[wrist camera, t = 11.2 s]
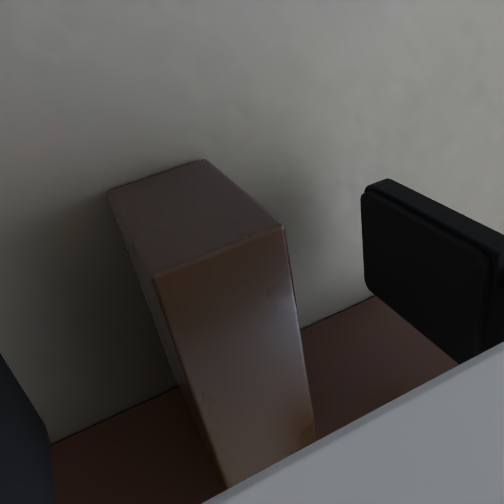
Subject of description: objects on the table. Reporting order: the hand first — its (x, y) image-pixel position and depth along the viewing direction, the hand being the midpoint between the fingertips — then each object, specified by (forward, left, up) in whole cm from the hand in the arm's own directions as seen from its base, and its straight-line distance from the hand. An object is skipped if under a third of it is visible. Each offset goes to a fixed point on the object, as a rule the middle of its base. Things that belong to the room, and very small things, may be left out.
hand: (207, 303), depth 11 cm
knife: (+3, +3, -1) cm, 4 cm away
